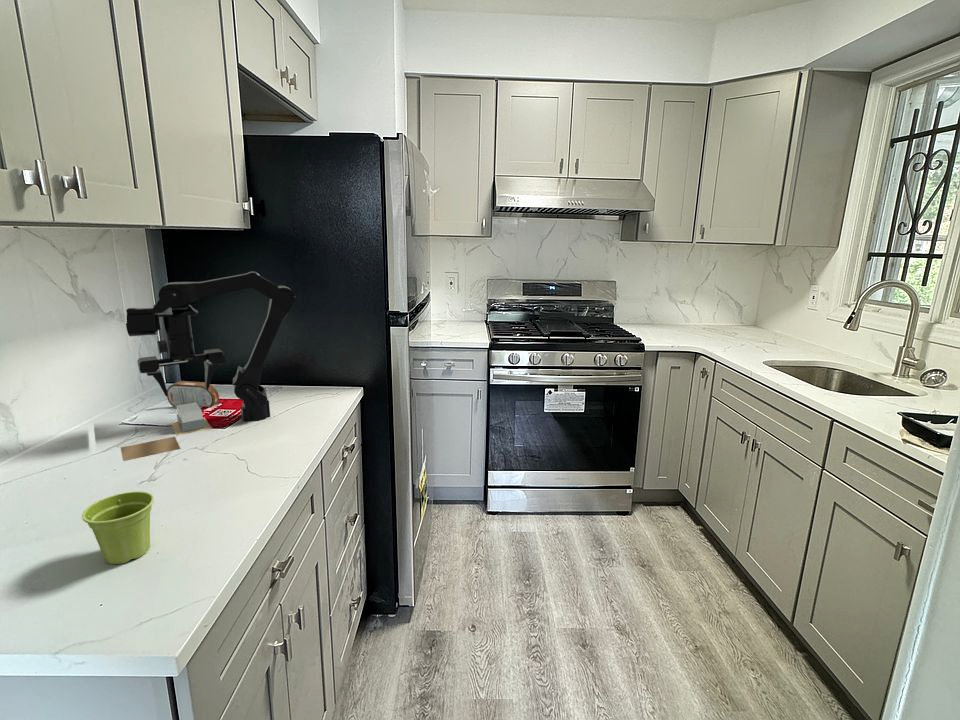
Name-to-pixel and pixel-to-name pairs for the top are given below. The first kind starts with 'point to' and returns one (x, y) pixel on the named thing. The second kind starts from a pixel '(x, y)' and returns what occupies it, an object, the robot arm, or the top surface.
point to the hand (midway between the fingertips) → (187, 392)
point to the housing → (190, 417)
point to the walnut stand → (149, 448)
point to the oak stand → (179, 431)
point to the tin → (192, 394)
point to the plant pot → (121, 525)
